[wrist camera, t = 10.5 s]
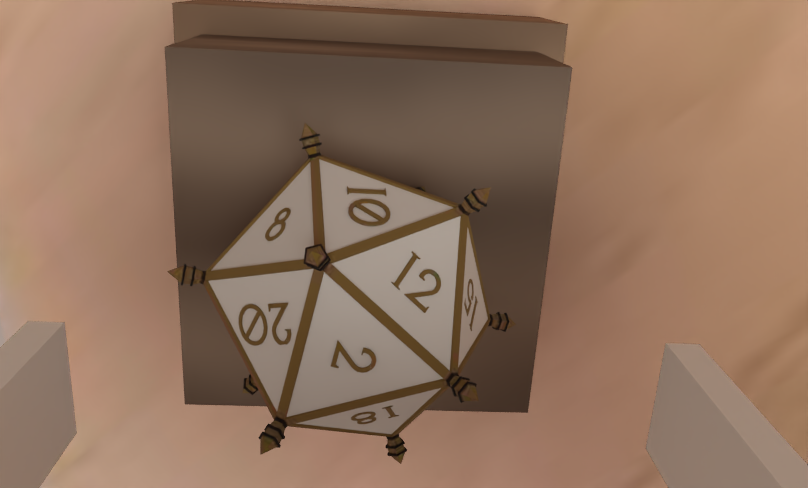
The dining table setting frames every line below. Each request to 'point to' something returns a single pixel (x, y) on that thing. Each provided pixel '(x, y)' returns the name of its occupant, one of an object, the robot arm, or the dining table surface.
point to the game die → (352, 300)
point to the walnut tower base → (368, 150)
